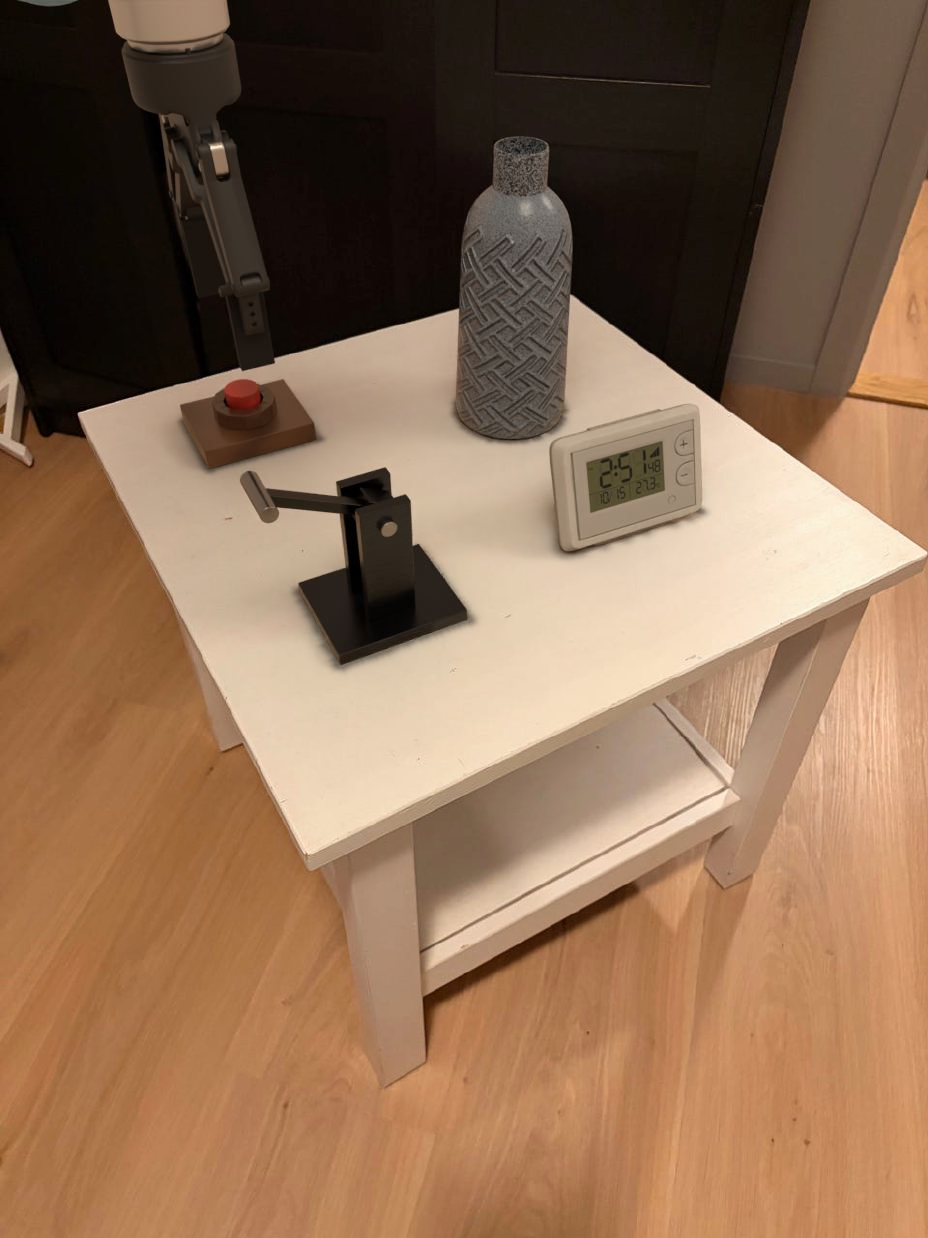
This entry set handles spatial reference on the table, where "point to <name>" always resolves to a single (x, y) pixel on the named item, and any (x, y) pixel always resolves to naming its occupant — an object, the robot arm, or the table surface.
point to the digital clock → (626, 476)
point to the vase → (514, 298)
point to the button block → (247, 425)
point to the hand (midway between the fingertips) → (234, 327)
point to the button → (242, 394)
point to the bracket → (379, 579)
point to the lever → (304, 499)
